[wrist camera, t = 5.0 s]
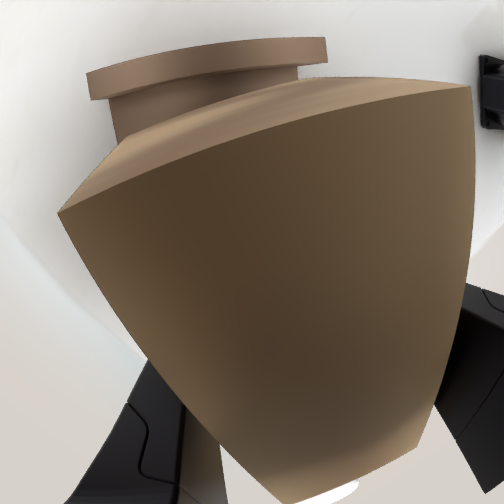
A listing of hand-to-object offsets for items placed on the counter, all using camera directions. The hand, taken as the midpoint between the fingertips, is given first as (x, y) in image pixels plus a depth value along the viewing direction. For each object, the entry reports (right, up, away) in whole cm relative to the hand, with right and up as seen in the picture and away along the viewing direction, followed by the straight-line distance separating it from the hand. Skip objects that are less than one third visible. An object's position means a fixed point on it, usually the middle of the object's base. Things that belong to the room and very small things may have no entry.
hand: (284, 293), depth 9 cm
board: (0, 0, +1) cm, 1 cm away
